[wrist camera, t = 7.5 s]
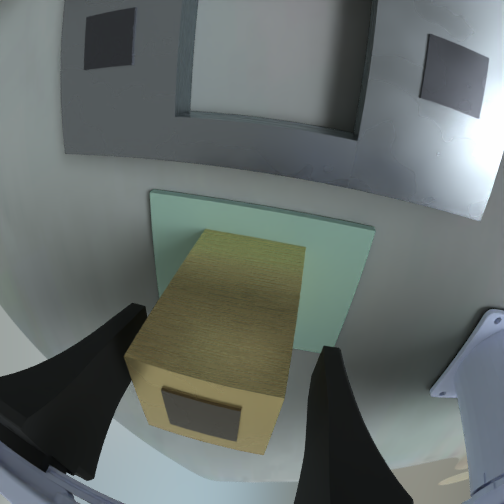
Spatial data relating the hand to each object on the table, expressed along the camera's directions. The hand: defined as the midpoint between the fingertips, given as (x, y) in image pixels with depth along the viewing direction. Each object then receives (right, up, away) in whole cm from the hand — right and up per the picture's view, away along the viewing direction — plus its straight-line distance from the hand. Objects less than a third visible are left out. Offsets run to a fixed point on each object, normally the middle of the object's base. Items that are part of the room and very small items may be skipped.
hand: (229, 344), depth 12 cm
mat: (+1, +2, +4) cm, 4 cm away
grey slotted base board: (+2, +11, -3) cm, 12 cm away
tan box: (+1, +2, +3) cm, 4 cm away
